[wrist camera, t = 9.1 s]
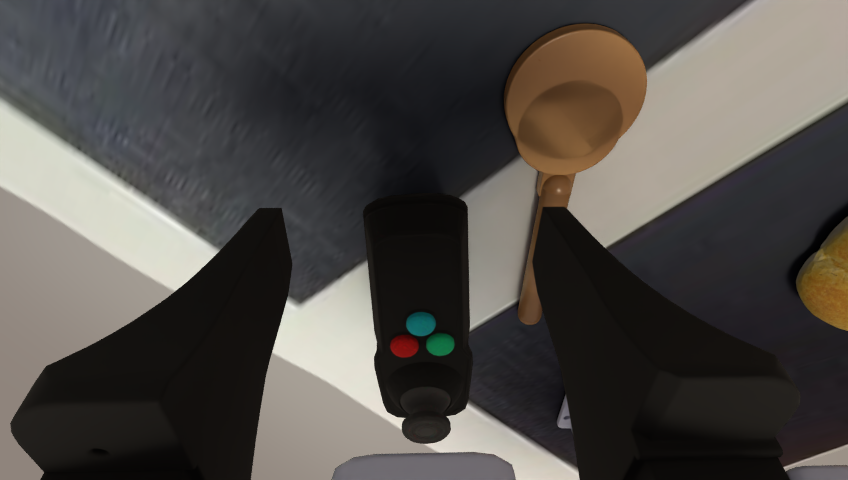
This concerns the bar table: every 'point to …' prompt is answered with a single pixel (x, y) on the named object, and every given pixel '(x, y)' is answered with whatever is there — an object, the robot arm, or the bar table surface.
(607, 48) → the spoon
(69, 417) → the robot arm
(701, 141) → the bar table surface
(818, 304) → the bread roll
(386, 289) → the controller
